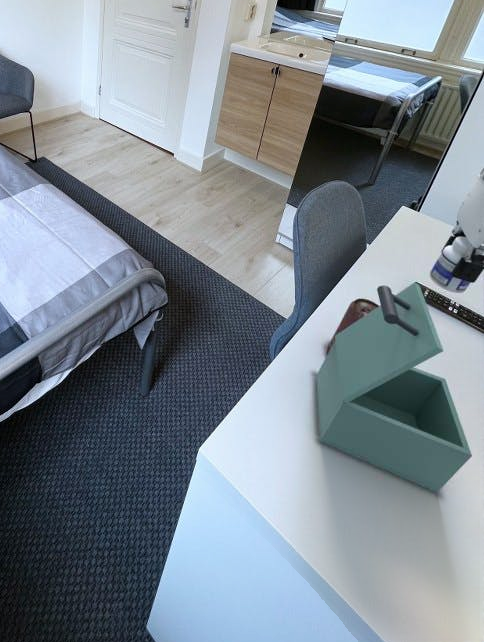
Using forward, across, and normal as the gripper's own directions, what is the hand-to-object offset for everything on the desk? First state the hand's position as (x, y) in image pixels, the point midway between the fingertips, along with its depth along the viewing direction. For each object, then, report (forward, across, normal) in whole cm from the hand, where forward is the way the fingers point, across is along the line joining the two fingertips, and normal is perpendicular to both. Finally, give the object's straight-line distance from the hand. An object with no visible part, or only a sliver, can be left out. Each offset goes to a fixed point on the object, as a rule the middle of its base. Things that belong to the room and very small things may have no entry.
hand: (456, 266), depth 73 cm
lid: (+6, -18, +12) cm, 22 cm away
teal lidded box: (+25, -18, +7) cm, 32 cm away
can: (+25, -5, +10) cm, 28 cm away
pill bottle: (+4, 0, 0) cm, 4 cm away
